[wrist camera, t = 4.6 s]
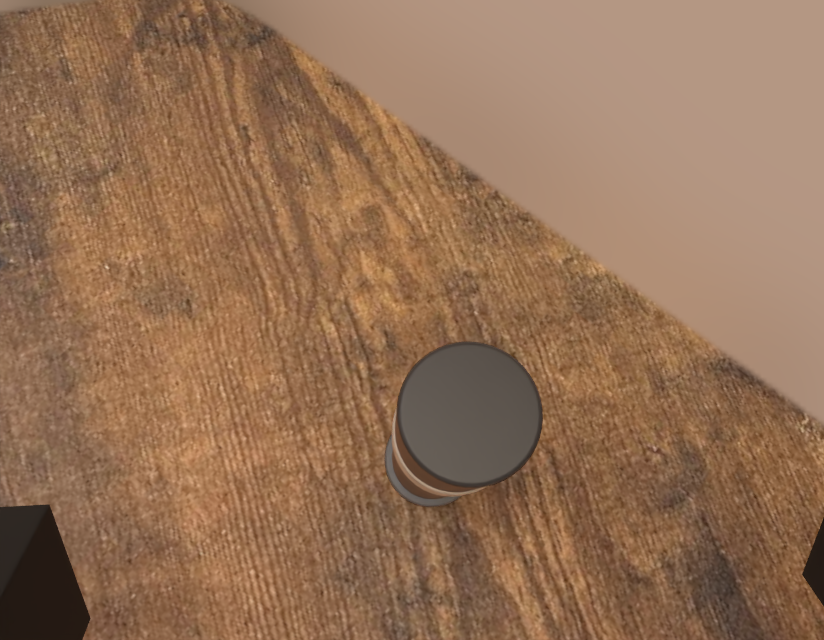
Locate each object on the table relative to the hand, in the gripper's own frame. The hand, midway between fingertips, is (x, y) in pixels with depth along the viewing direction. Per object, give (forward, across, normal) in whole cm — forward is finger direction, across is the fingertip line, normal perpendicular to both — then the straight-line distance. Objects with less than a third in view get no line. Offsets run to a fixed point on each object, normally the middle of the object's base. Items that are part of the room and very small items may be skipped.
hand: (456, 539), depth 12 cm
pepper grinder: (+7, 0, -4) cm, 8 cm away
